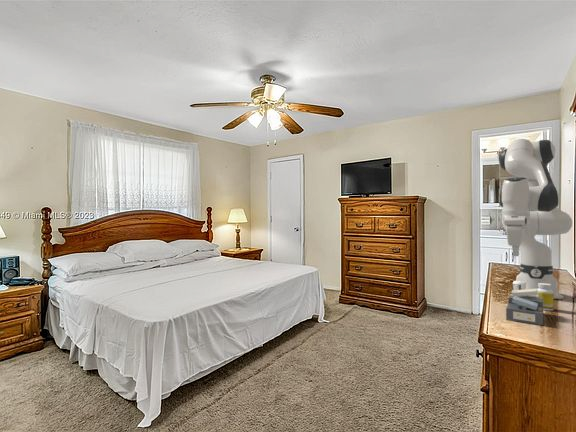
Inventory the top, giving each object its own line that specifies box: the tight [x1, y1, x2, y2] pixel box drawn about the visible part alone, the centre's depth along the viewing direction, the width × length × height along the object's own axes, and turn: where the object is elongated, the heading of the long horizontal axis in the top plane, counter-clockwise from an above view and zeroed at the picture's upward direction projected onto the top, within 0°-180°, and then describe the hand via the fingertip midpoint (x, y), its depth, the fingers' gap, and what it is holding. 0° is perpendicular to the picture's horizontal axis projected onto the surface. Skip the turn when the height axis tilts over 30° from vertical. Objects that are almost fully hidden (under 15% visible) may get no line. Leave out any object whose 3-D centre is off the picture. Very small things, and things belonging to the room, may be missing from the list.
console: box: [505, 292, 544, 327], centre depth 116 cm, size 18×10×7 cm, turn 141°
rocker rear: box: [513, 289, 538, 296], centre depth 119 cm, size 6×7×1 cm
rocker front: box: [512, 296, 538, 310], centre depth 112 cm, size 6×7×1 cm
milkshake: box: [512, 280, 528, 290], centre depth 135 cm, size 5×5×10 cm
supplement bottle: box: [536, 283, 555, 311], centre depth 126 cm, size 5×5×10 cm
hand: (515, 255), depth 122 cm, fingers closed
